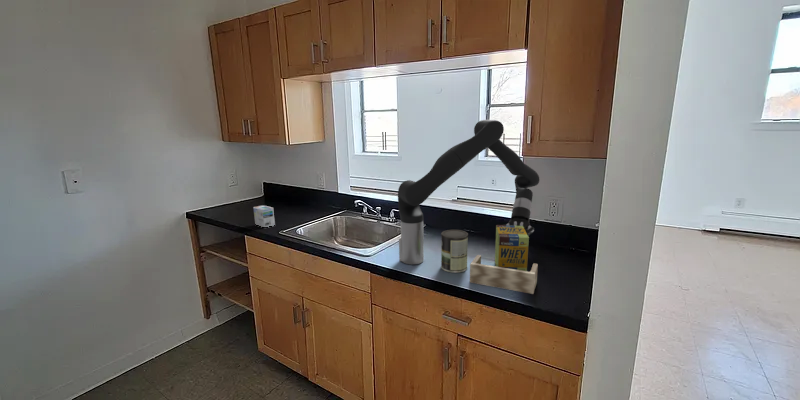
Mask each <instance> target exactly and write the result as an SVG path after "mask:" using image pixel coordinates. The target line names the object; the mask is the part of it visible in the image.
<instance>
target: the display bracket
mask: <svg viewBox="0 0 800 400" xmlns="http://www.w3.org/2000/svg"><path fill="white" fill-rule="evenodd" d="M538 265H539V264H538V263H534V262H533V264H532V267H531V269H530V271H528V270H527V271H522V270H515V269H509V268H503V267H496V265H489V264H483V263H482V255H481V254H477V255H476V256H475V257H474V258H473V260H472V261H471V263H470V264H469V283H471V284H476V285H482V286H487V287H493V288H498V289H504V290H509V291H515V292H519V293H520V292H521V293H525V294H531V295H534V293H535V289H536V286H537V284H538V283H537V282H538V269H539V268H538V267H539V266H538Z"/></svg>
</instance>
